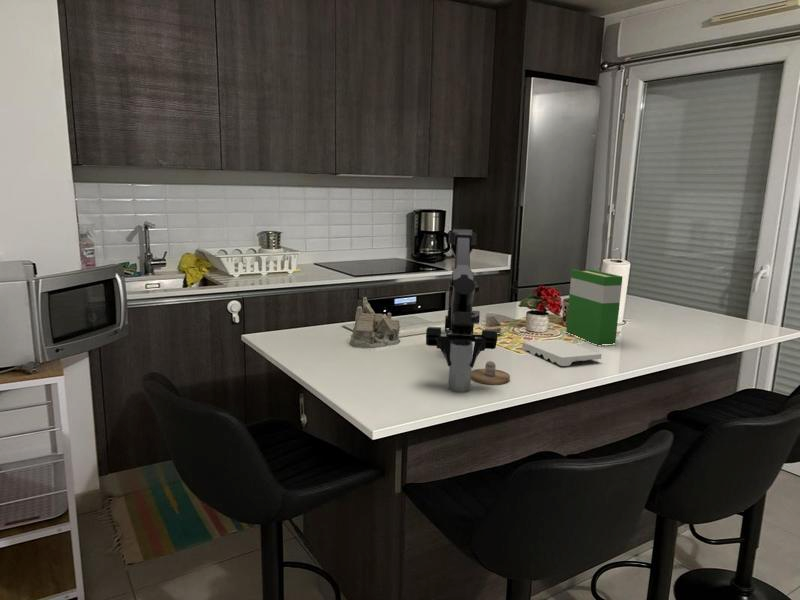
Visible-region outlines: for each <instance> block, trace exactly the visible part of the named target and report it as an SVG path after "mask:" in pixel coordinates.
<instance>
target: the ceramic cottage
mask: <svg viewBox="0 0 800 600" xmlns="http://www.w3.org/2000/svg"><path fill="white" fill-rule="evenodd" d="M400 328H401V325H400V320H399V319H392V313H391V312H387V314H386V313H384V314H383V313H375V311H374V309H373V308H372V306H371V304H370V303H369V301H368V297H366V296H365V297H362V306H357V308H356V313H355V321H354V327H353V329H352V334H350V340H349V343H348V344H349V346H350V347H352V348H356V349H357V348H358V349H375V348H382V347H383V348H384V347H389V346H396V345H398V344H399V343H400V341H401V339H400V337H399V335H400Z"/></svg>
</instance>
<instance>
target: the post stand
mask: <svg viewBox="0 0 800 600" xmlns="http://www.w3.org/2000/svg"><path fill="white" fill-rule="evenodd" d="M496 367H497V366H496V363H495V361H492V360H489V361H487V362H486V363H485V366H484V368H477V369H473V370H471V380H472V381H474V382H475V383H479V384H483V385H489V386H495V385H496V386H497V385H498V386H499V385H505V384H508V383H509V382H510V381H511V375H510V373H507V372H506V371H503V370H500V369H497V368H496Z"/></svg>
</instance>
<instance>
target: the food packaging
mask: <svg viewBox="0 0 800 600" xmlns="http://www.w3.org/2000/svg"><path fill="white" fill-rule="evenodd" d="M522 349H524V351H525V352H529V353H530V354H531V355H533V356H535V355H537V356H542V357H543V359H544V360H545V361H546V360H548V359H549V361H550V362H551V363H553V364H557V365H558V366H561V367H569V366H571V364H573V363H572V362H575V363H577V362H590V361H591V360H602V353H599V352H597V351H593V350H591V349H588V348H585V347H582V346H580V345H577V344H573V343H572V342H568V341H565V340H563V339H547V340H537V341H536V340H535V341H522Z"/></svg>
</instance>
